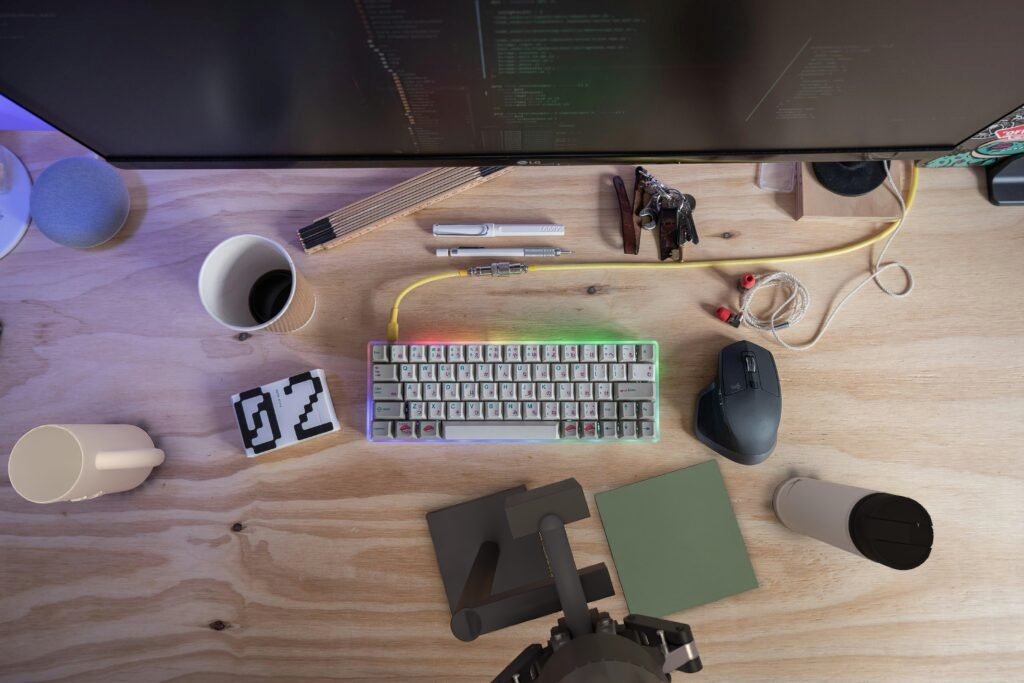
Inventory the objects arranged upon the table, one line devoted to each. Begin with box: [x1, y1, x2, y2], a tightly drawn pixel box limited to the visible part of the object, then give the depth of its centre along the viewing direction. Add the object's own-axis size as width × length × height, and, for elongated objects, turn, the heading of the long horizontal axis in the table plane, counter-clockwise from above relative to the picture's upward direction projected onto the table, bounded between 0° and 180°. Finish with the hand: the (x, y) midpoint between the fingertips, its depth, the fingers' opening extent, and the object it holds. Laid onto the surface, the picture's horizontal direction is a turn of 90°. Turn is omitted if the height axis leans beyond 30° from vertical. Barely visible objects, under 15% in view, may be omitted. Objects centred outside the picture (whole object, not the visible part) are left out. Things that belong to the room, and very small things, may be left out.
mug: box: [7, 423, 166, 505], centre depth 67 cm, size 8×12×12 cm
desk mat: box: [594, 458, 760, 618], centre depth 70 cm, size 15×15×1 cm
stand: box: [425, 483, 616, 643], centre depth 57 cm, size 12×17×27 cm
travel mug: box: [772, 476, 935, 571], centre depth 60 cm, size 6×7×20 cm
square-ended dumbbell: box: [504, 476, 619, 646], centre depth 46 cm, size 14×6×8 cm, turn 16°
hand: (581, 626), depth 45 cm, fingers closed on square-ended dumbbell
